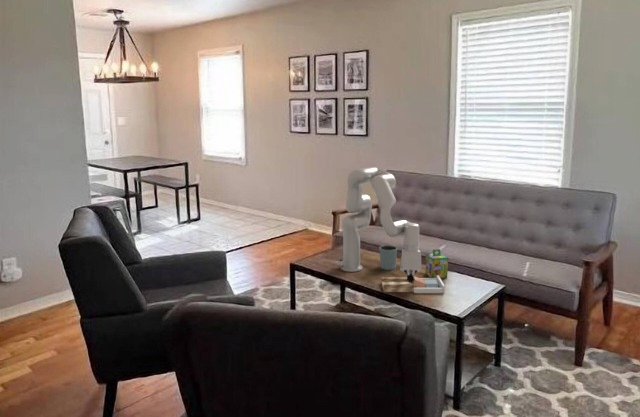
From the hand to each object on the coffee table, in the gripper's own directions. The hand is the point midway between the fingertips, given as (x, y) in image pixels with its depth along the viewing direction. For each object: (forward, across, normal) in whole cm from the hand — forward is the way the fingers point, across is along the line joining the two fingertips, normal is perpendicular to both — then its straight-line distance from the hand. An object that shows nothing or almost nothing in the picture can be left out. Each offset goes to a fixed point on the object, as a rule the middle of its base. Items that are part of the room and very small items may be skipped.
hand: (410, 281), depth 259 cm
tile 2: (+3, +11, 0) cm, 11 cm away
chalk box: (+3, +17, +18) cm, 25 cm away
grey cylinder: (+3, -8, +32) cm, 33 cm away
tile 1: (+2, +4, 0) cm, 4 cm away
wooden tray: (+3, -6, 0) cm, 7 cm away
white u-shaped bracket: (+3, +8, 0) cm, 9 cm away
